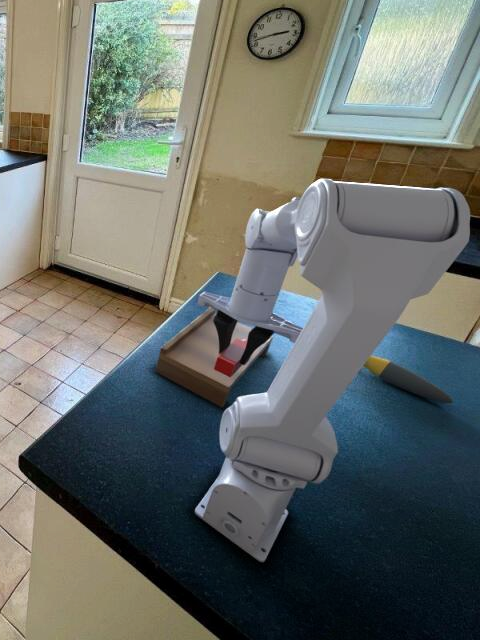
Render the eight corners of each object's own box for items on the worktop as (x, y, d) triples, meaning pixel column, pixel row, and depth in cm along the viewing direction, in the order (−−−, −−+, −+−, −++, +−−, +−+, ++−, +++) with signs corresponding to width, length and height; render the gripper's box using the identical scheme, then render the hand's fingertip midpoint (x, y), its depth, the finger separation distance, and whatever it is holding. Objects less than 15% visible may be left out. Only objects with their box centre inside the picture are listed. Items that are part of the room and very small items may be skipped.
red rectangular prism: (230, 377, 67) (235, 364, 66) (213, 369, 69) (217, 356, 68) (252, 353, 73) (257, 341, 71) (235, 346, 74) (240, 333, 73)
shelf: (222, 407, 71) (231, 382, 68) (155, 371, 79) (160, 347, 77) (266, 354, 83) (275, 331, 81) (204, 328, 92) (211, 306, 89)
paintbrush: (451, 397, 72) (466, 375, 70) (447, 411, 70) (462, 388, 68) (314, 343, 87) (323, 323, 85) (306, 352, 84) (315, 332, 82)
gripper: (322, 296, 61) (292, 368, 67) (218, 263, 71) (199, 328, 77) (308, 313, 57) (277, 388, 63) (200, 275, 67) (182, 343, 73)
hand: (233, 356), depth 70 cm, fingers closed on red rectangular prism, 3 cm apart
